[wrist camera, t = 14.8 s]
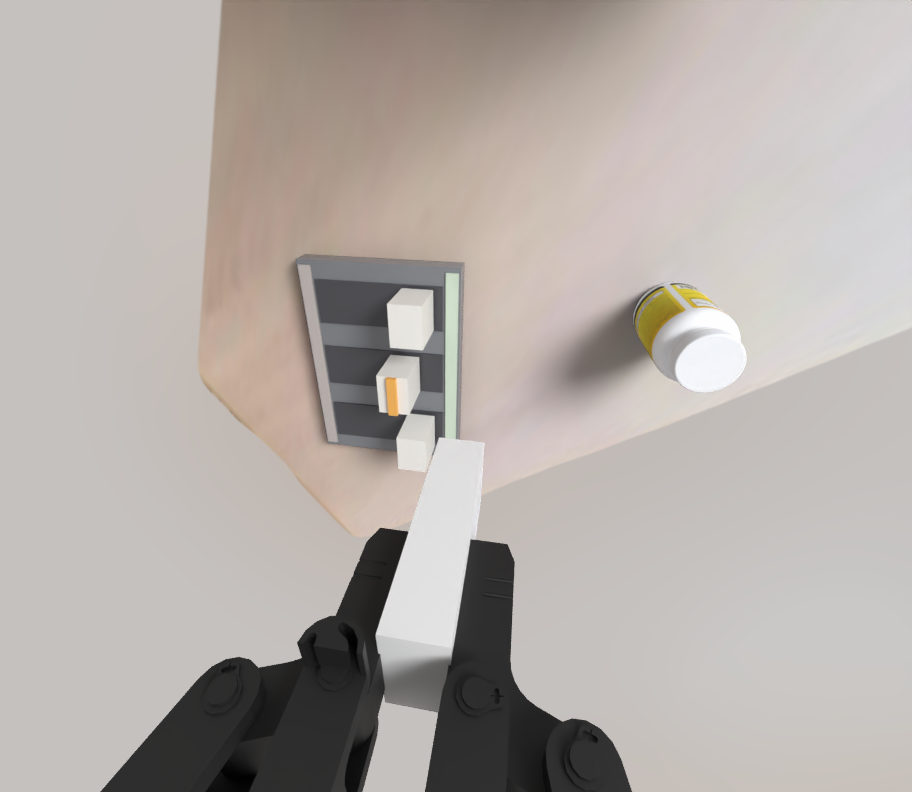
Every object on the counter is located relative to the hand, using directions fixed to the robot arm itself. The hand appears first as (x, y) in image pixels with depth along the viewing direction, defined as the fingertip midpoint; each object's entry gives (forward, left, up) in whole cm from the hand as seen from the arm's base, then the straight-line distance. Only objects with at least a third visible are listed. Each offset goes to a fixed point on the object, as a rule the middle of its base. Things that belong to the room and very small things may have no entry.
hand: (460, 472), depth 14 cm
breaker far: (+18, -8, -27) cm, 33 cm away
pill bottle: (+4, +15, -30) cm, 33 cm away
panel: (+11, -12, -29) cm, 34 cm away
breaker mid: (+11, -9, -27) cm, 30 cm away
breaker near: (+4, -8, -27) cm, 28 cm away
